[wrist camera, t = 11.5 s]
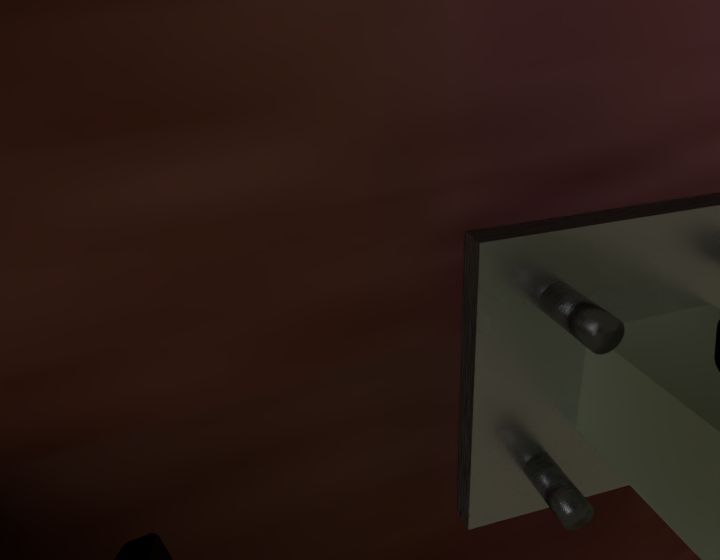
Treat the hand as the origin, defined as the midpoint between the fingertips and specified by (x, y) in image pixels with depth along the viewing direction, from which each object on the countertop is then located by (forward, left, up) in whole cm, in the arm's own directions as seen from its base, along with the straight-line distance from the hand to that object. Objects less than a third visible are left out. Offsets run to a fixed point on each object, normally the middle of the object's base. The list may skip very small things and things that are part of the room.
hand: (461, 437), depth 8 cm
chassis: (+12, -11, -12) cm, 20 cm away
